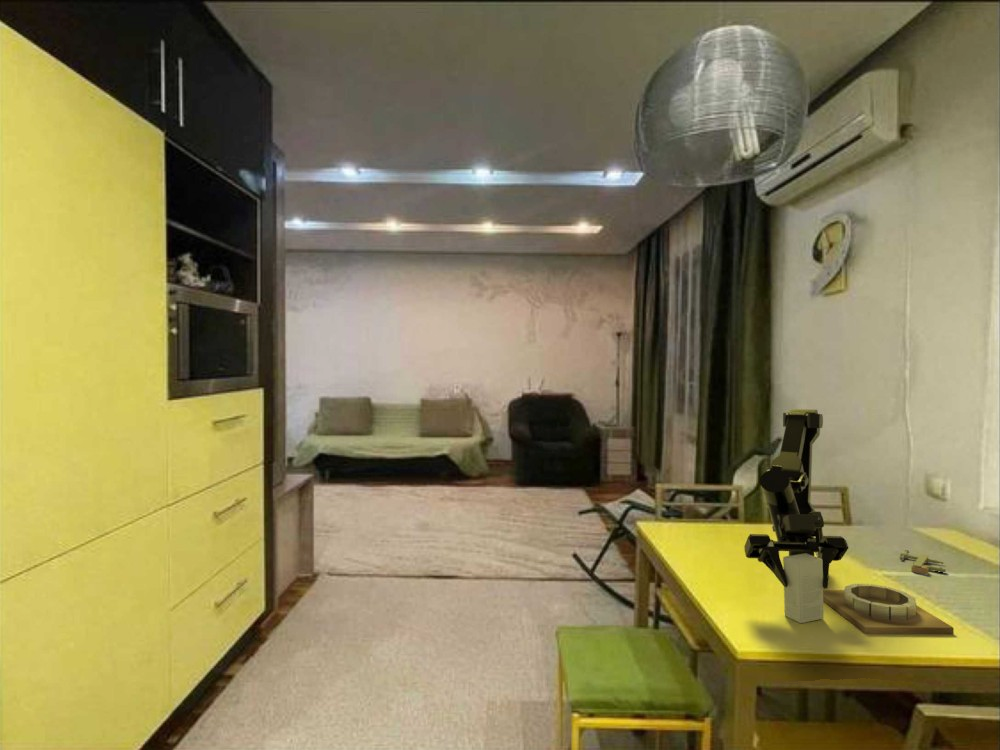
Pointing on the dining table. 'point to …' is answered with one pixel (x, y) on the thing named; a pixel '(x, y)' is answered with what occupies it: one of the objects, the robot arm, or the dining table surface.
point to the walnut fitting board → (872, 625)
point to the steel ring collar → (877, 610)
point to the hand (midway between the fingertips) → (806, 587)
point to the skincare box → (803, 588)
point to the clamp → (921, 563)
